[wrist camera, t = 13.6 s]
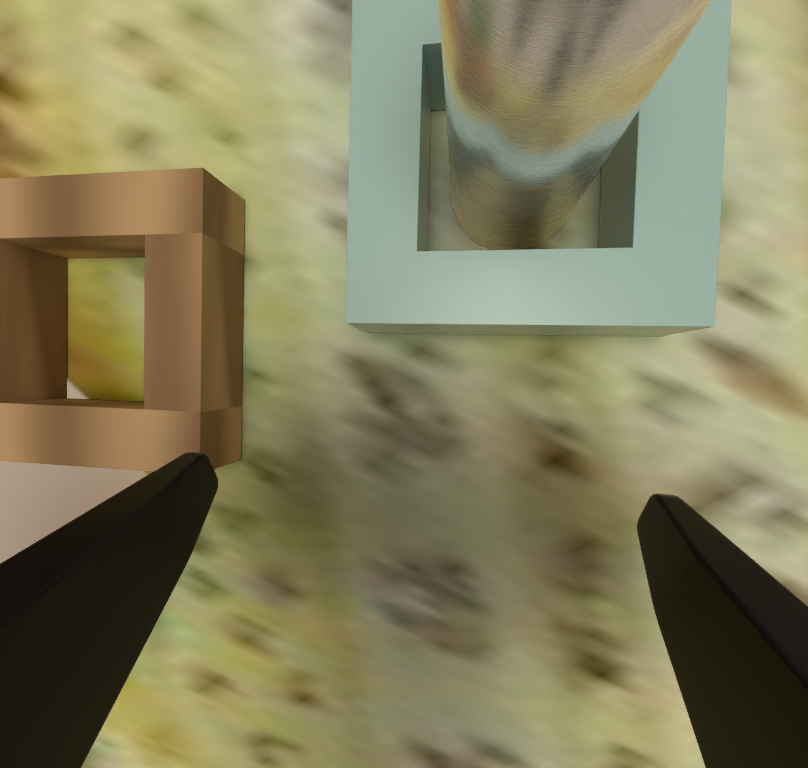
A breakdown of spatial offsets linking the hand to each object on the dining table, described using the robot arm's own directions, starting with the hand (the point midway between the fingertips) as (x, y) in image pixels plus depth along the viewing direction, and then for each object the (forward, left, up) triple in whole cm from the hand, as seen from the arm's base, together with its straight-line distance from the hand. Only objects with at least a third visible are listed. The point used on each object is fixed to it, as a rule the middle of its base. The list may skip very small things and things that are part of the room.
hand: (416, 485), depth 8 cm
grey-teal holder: (-3, -10, -9) cm, 14 cm away
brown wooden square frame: (+15, -4, -9) cm, 18 cm away
